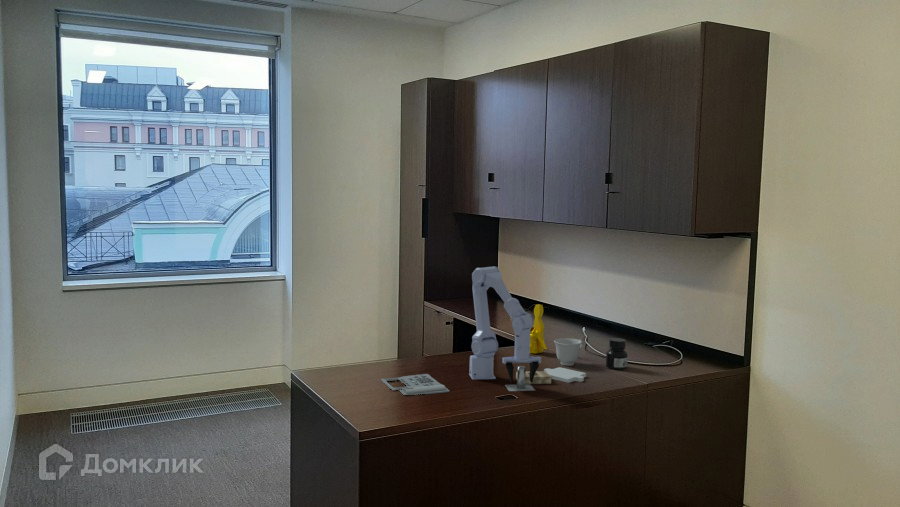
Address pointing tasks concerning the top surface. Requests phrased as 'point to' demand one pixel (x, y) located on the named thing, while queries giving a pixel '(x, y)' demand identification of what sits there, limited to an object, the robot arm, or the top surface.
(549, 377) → the hole block
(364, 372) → the top surface
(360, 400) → the top surface
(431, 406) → the top surface
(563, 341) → the teacup
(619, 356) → the ink bottle
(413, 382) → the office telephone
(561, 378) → the mounting plate
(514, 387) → the mat
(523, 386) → the peg
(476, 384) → the top surface
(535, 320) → the figure statuette
